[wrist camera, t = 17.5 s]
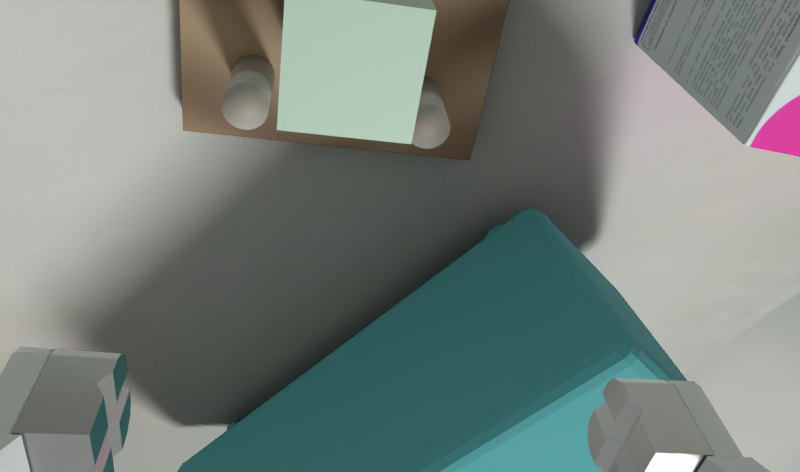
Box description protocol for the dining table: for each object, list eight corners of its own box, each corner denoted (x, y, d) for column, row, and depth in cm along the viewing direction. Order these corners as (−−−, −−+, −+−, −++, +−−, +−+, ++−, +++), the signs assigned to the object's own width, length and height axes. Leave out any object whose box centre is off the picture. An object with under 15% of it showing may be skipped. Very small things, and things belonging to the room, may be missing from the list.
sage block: (297, -66, 28) (284, -11, 21) (410, -49, 29) (436, 10, 22) (289, 46, 31) (276, 130, 24) (393, 59, 32) (411, 144, 25)
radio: (275, 497, 54) (259, 707, 42) (170, 443, 49) (117, 664, 37) (628, 261, 43) (746, 456, 31) (537, 161, 38) (635, 346, 26)
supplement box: (629, 46, 34) (740, 147, 25) (682, -75, 31) (832, -10, 22) (725, 68, 35) (865, 173, 26) (786, -46, 32) (971, 27, 23)
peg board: (180, -228, 26) (148, -228, 22) (538, -161, 28) (577, -148, 24) (188, 117, 34) (166, 169, 30) (465, 147, 37) (483, 199, 32)
